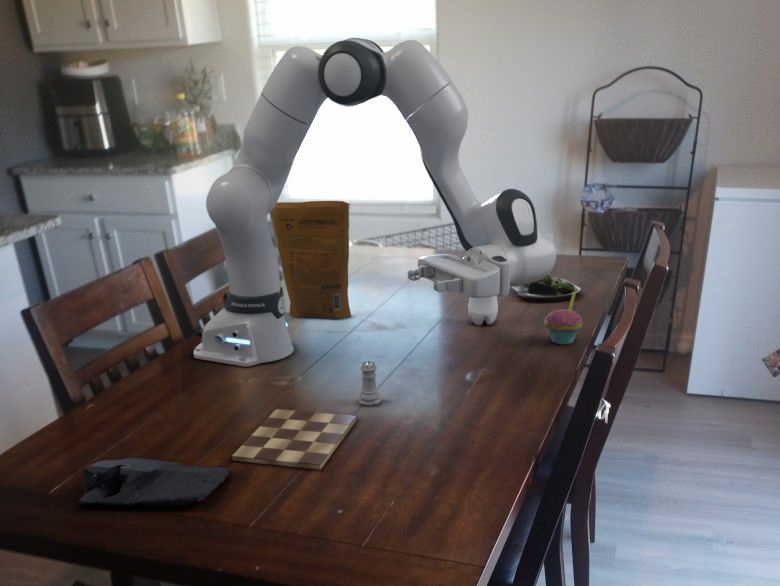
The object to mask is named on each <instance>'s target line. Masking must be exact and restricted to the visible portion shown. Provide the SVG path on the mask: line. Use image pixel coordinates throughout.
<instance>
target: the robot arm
mask: <svg viewBox="0 0 780 586" xmlns="http://www.w3.org/2000/svg"><path fill="white" fill-rule="evenodd" d="M378 97H383V98H386V99H387V100H389V101H390V102H391V103H392V105H393V106H394V107H395V108H396V110H397V111H398V112H399V114H400V115H401V117H402V119H403V120H404V121H405V123H406V125H407V126H408V128H409V129H410V131H411V133H412V135H413V137H414V139H415V141H416V143H417V145H418V148H419V151H420V157H421V160H422V163H423V167H424V168H425V170H426V172H427V175H428V177H429V179H430V180H431V182H432V184H433V186H434V188H435V190H436V191H437V193H438V195H439V197H440V198H441V200H442V202H443V204H444V207H445V208H446V209H447V212H448V213H449V215H450V217H451V219H452V222H453V224H454V227H455V231H456V234H457V237H458V240H459V243H460V245H461V246H462V248H463V249H464V251H465V252H466V253H465V255H464V256H463V257H461V256H458V255H455V254H452V253H438V254H431V255H423V256H420V257H419V258H417V267H416V268H413V269H409V270H408V271H407V279H408V280H410V281H413V282H415V281H420V279H422V278H423V279H427V280H429V281H431V282H433V290H434V291H436V292H438V293H444V292H451V293H452V292H454V293H457V292H458V293H460V294H462V295H464V296H467V297H469V298H470V297H472V298H484V297H491V296H497V297H502V298H503V297H507V296H509V294H510V287H512V286H521V285H525V284H529V283H532V282H536V281H538V280H541V279H543V278H544V277H546V276H547V275H548V276H549V275H550V274H551V272H552V271H553V269H554V267H555V264H556V260H557V249H556V245H555V243H554V241H553V240H552V239H551V238H550V237H549V236H548V235H546V233H545V232H544V230H543V229H542V227H541V225H540V224H539V221H538V219H537V213H536V207H535V205H534V203H533V201H532V200H531V198H530V197H529V196H528V195H527V194H526V193H524V192H523V191H521V190H519V189H516V188H507V189H505V190H503V191H501V192H500V193H498V194H496V195H494V196H493V197H491V198H490V199H488V200H487V201H486V202H484V203H481V202H480V201H479V199H477V197H476V195H475V193H474V192H473V189H472V188H471V186H470V184H469V182H468V180H467V178H466V176H465V174H464V172H463V171H462V168H461V166H460V159H459V155H460V149H461V144H462V142H463V139H464V137H465V135H466V132H467V129H468V123H469V110H468V107H467V105H466V102H465V100H464V98H463V96H462V94H461V91H460V90H459V89H458V88H457V86H456V84H455V83H454V81H453V79H452V78H451V77H450V76H449V74H448V72H447V71H446V70H445V69H444V68H443V66H442V64H440V62H439V61H438V60H437V58H436V57H435V56H434V55H433V54H432V52H430V51H429V50H428V49H427V48H426V47H425V46H424V45H423V44H422V43H421V42H419V41H417V40H414V39H409V40H403V41H401V42H399V43H397V44H396V45H394V46H393V47H392V48H390V49H389V50H387V51H384V50H383V49H382V48H381V47H380V45H379V44H377V43H376V42H374V41H373V40H371V39H370V40H369V39H368V38H367V39H366V38H361V37H349V38H346V39H342V40H338V41H336V42H334V43H333V44H330V46H328V47H327V49H325V51H324V52H323V54H320V53H318V52H316V51H315V50H313V49H311V48H309V47H306V46H301V45H297V46H292V47H290V48H288V49H287V50H286V51H285V52H284V54H283V55H282V56H281V58H280V59H279V61H278V62H277V63H276V65H275V66H274V67H273V70H272V72H271V73H270V75H269V77H268V78H267V80H266V83H265V84H264V86H263V88H262V90H261V92H260V95H259V97H258V99H257V101H256V103H255V105H254V108H253V110H252V112H251V114H250V117H249V119H248V121H247V123H246V125H245V127H244V129H243V138H242V141H241V144H240V148H239V151H238V154H237V156H236V159H235V162H234V164H233V165H232V167H231V168H230V169H229V171H227V172H225V173H223V174H222V175H220V176H219V177H217V178H216V179H215V180H214V182H213V183H212V184H211V187H210V188H209V191H208V193H207V195H206V199H205V207H206V212H207V215H208V217H209V219H210V220H211V221H212V223H213V224H214V225H215V230H216V232H217V235H218V238H219V240H220V244H221V247H222V251H223V254H224V259H225V268H226V273H227V282H228V289H227V291H225V292H224V293H223V294H222V295H221V296H220V297H219V299H220V300H219V303H224V304H223V308H222V309H221V310H219V311H218V312H217V313H216V314H215V315H214V316H213V317H211V319H210V320H209V321H208V322H206V324H205V325H204V327H203V330H201V329H197V330H196V333H197V334H198V335H199V336H201V342H200V343H199V344H198V345H197V346H196V347H195V348H194V349H193V358H194V359H197V360H203V361H209V362H213V363H214V362H215V363H220V364H227V365H233V366H239V367H245V368H246V367H247V368H248V367H252V366H256V365H259V364H263V363H271V362H275V361H278V360H282V359H285V358H287V357H289V356H291V355H292V354H293V353H294V352H295V347H294V345H293V343H292V340H291V337H290V335H289V334H290V333H289V330H288V323H287V322H286V316H285V313H286V310H285V309H286V304H285V295H284V290H283V287H282V286H281V276H280V266H279V254H278V250H277V248H276V246H275V245H274V243H273V240H272V236H271V233H270V229H269V223H268V215H270V212H271V211H272V210H273V209H274V207H275V205H276V203H278V201H279V199H280V197H281V195H282V192H283V190H284V187H285V186H286V183H287V180H288V178H289V175H290V173H291V170H292V168H293V164H294V162H295V160H296V158H297V156H298V154H299V152H300V150H301V147H302V146H303V144H304V142H305V140H306V138H307V136H308V133H309V132H310V130H311V128H312V126H313V124H314V122H315V120H316V118H317V116H318V113H319V111H320V110H321V108H322V106H323V105H324V104H325V102H327V101H328V100H330V101H331V102H333V103H334V104H336V105H338V106H341V107H349V108H350V107H356V106H361V105H365V104H367V103H369V102H370V101H371V100H373V99H375V98H378Z"/></svg>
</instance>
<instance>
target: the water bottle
mask: <svg viewBox="0 0 780 586" xmlns="http://www.w3.org/2000/svg"><path fill="white" fill-rule="evenodd" d="M498 312H499V302H498V296H491V297H484V298H472V297H469V300H468V303H467V315H468V319H469V322H471V323H473V324H474V325H476V326H483V323H484V321H485V323H486V325H488V326H489V325H493V324H494V322H495V321H496V319H497V317H498V316H497V315H498Z"/></svg>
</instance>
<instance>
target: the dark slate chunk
mask: <svg viewBox="0 0 780 586" xmlns="http://www.w3.org/2000/svg"><path fill="white" fill-rule="evenodd" d="M229 471H230V469H229V468H227V467H204V466H203V467H201V466H194V465H188V464H184V463H179V462H171V461H167V460H166V461H165V460H157V459H147V458H133V457H126V458H125V457H124V458H122V459H116V460H112V459H110V460H108V459H107V460H98V461H96V462H94V463H93V464H88V465H87V466H85V467H83V468H82V476H83V495H82V497H81V498H80V499H79V500H78V503H79V504H81V505H85V506H93V505H103V506H106V507H109V506H112V507H118V506H119V507H129V508H130V507H134V506H146V507H150V506H151V507H152V506H155V507H160V506H174V507H175V506H182V507H185V506H186V505H190V504H195V503H201V502H203V501H204V500H205V499H206V498H207V497H208V496H209V495H210V494H212V492H213V491H214V490H216V489H217V488H218V486H220V485H222V484H223V483H224V482H225V480H226V479H227V478H228V477H229V474H230V472H229ZM118 489H119V492H118V493H116V494H114V493H115V491H117V490H118ZM113 494H114V495H113Z"/></svg>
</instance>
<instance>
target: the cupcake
mask: <svg viewBox="0 0 780 586" xmlns="http://www.w3.org/2000/svg"><path fill="white" fill-rule="evenodd" d="M575 291H576V289H575ZM575 291H574V292H573V294H572V298H571V300H570V301H569V306H568V308H565V309H555V310H553V311H551V312H549V313H548V314H547V315H545V319H544V326H545V328H547V329H548V331H549V334H550V338H551V341H552V342H553V343H554V344H557V345H571V344H572V343H574V342H575V341H574V340H575V338H576V335H577V333H578V332H579V330H581V329H582V327H583V324H584V321H585V319H584V318H583V317H582V316H581V314H580V313H578V311H575V310H573V305H574V301H575V299H576V298H575V294H576V293H575Z"/></svg>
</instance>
